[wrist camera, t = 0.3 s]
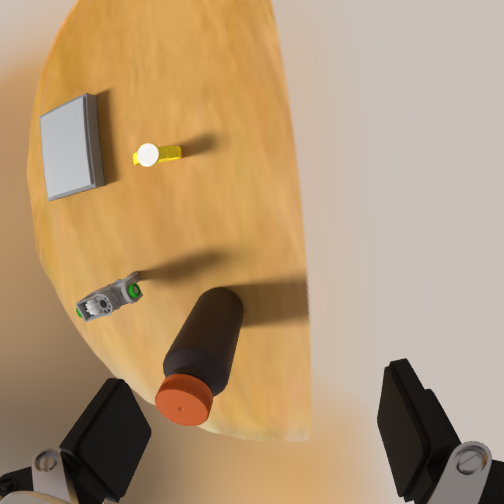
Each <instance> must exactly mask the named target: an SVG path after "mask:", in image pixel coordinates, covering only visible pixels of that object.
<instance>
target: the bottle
mask: <svg viewBox="0 0 504 504" xmlns="http://www.w3.org/2000/svg"><path fill="white" fill-rule="evenodd" d="M243 313H244V309H243V305H242V302H241V301H240V299H239V298H238V297H237V296H236V295H235V294H234V293H233V292H231V291H229V290H226V289H222V288H215V289H210V290H208V291H206V292H204V293H203V294H202V295H201V296H200V297H199V299H198V301H197V302H196V304H195V306H194V307H193V309H192V311H191V313H190V314H189V316H188V318H187V320H186V321H185V323H184V325H183V326H182V328H181V330H180V332H179V333H178V335H177V337H176V339H175V340H174V342H173V344H172V346H171V347H170V349H169V351H168V353H167V354H166V357H165V359H164V362H163V370H164V374H165V377H166V378H165V380H164V381H163V383H162V385H161V387H160V389H159V391H158V393H157V395H156V397H155V401H156V402H155V403H156V406H157V408H158V410H159V411H160V412H161V413H162V414H163V416H164V417H166V418H167V419H169V420H170V421H172V422H175V423H177V424H181V425H185V426H196V425H200V424H203V422H205V421H207V419H208V417H209V413H210V410H211V406H212V403H213V397H214V396H217V395H218V394H219V393H221V392H222V391H223V390H224V389H225V387H226V385H227V383H228V380H229V376H230V371H231V367H232V363H233V358H234V354H235V350H236V345H237V341H238V337H239V332H240V328H241V324H242V319H243Z"/></svg>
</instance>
